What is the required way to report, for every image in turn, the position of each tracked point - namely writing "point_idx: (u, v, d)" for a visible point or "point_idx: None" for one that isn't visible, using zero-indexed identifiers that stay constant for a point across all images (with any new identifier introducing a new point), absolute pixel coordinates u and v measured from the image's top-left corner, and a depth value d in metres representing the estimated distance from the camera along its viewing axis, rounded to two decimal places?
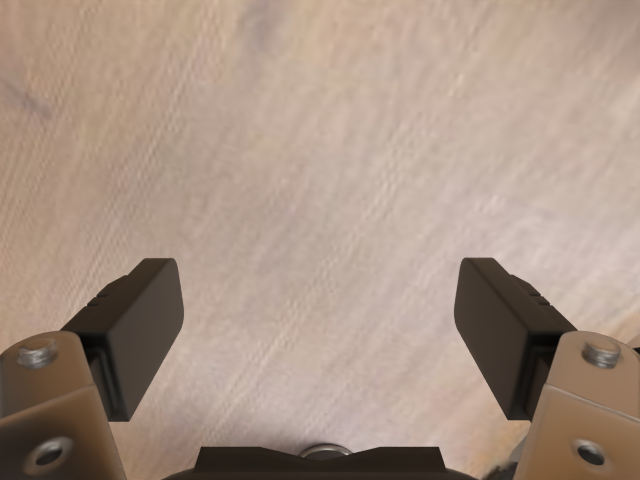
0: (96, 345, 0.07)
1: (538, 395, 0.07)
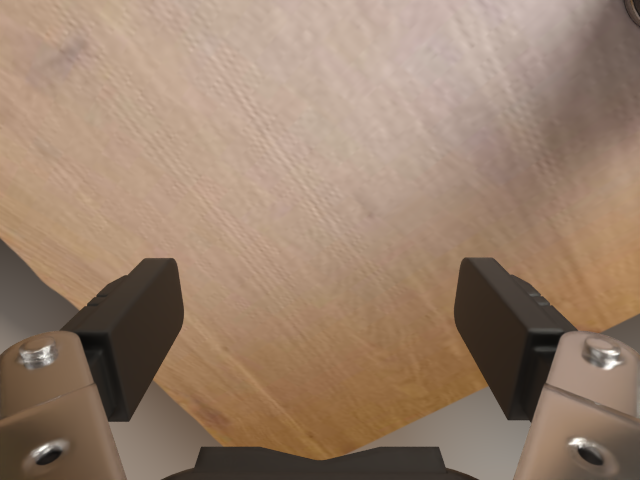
0: (96, 345, 0.07)
1: (538, 395, 0.07)
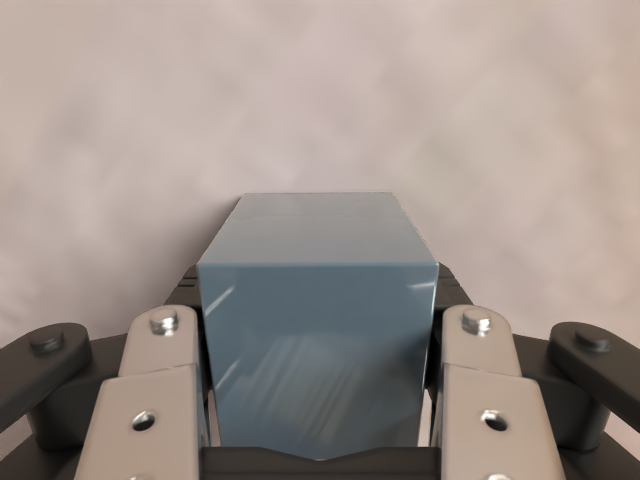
0: None
1: (431, 371, 0.08)
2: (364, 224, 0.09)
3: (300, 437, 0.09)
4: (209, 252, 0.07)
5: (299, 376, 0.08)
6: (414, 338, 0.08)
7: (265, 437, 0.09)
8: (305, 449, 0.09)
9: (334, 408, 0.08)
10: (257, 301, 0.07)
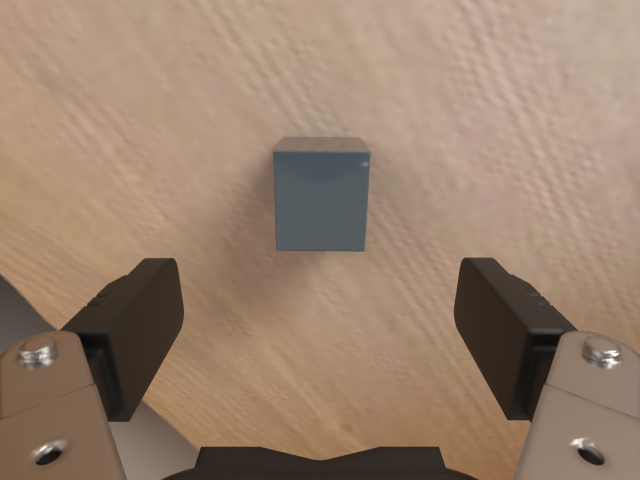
0: (96, 345, 0.07)
1: (538, 395, 0.07)
2: (342, 144, 0.20)
3: (312, 237, 0.19)
4: (277, 148, 0.18)
5: (313, 204, 0.19)
6: (361, 186, 0.18)
7: (296, 237, 0.19)
8: (314, 244, 0.19)
9: (327, 222, 0.19)
10: (297, 168, 0.18)
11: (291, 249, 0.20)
